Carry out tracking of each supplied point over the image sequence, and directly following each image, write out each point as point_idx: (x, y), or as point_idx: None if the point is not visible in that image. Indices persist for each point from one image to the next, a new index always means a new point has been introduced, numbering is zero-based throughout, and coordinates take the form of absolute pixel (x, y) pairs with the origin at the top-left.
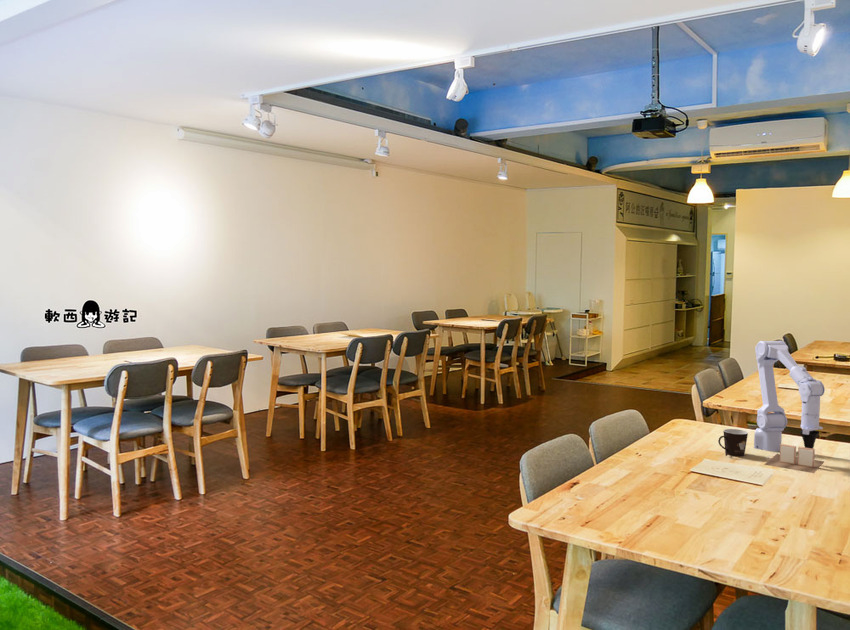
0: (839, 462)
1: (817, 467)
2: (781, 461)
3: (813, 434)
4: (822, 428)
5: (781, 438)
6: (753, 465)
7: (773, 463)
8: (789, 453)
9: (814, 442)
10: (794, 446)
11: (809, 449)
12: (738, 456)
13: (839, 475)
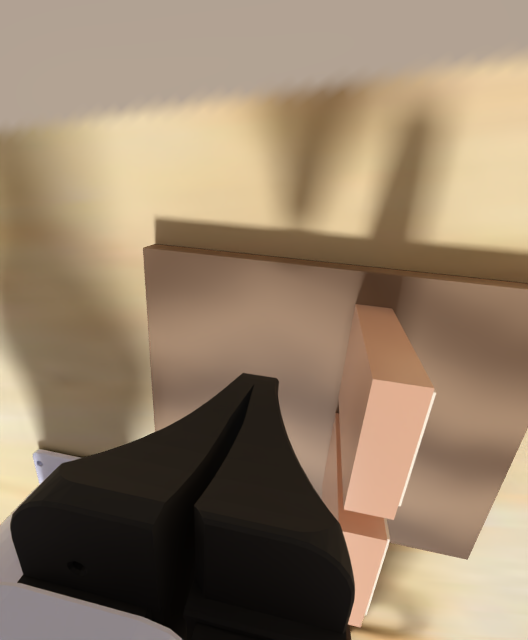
0: (17, 151)
1: (368, 280)
2: None
3: (351, 595)
4: (46, 622)
5: (10, 539)
6: (432, 574)
7: (412, 518)
8: None
9: (219, 414)
10: (366, 544)
11: (418, 428)
12: (346, 635)
13: (427, 99)
